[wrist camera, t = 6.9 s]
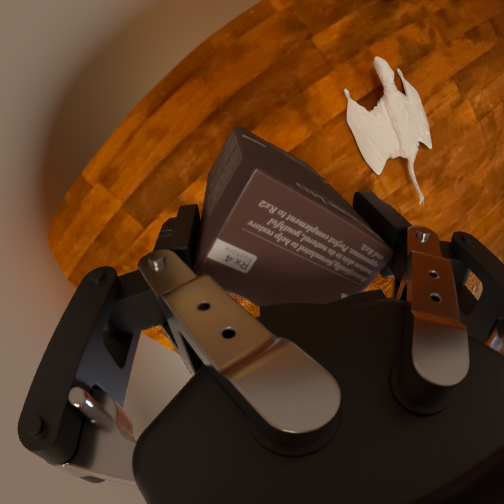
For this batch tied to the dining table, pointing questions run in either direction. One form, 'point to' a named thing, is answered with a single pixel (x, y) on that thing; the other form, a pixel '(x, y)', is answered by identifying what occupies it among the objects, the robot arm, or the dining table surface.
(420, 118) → the white dragon
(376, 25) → the dining table surface
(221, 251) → the box
